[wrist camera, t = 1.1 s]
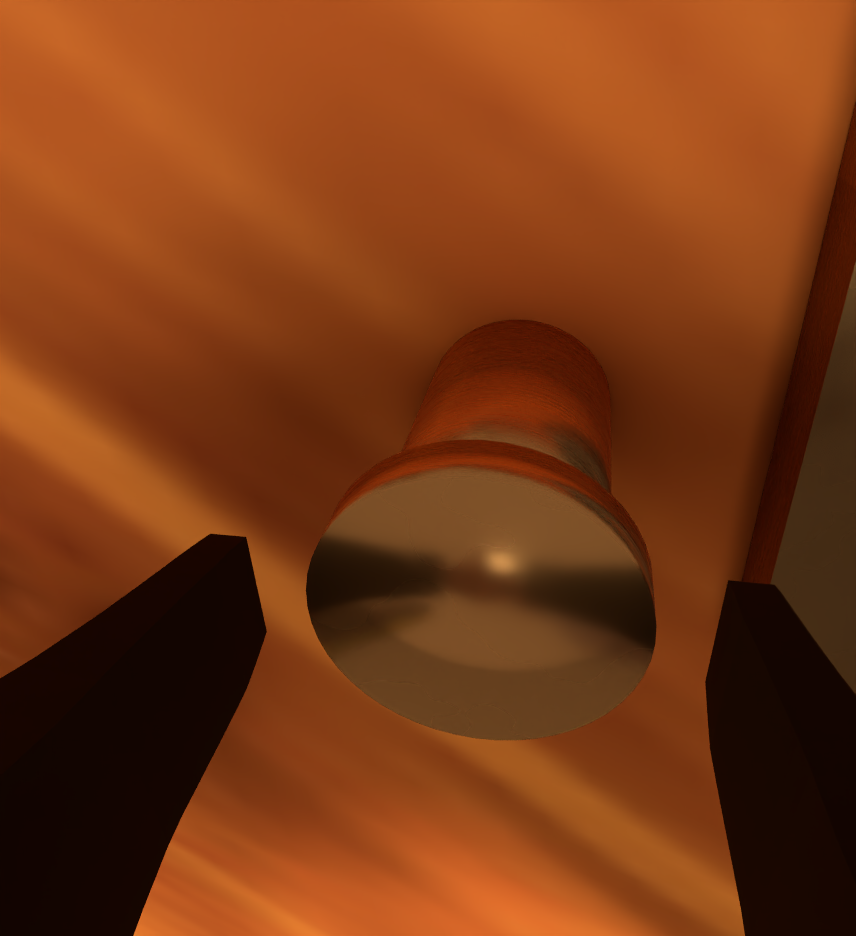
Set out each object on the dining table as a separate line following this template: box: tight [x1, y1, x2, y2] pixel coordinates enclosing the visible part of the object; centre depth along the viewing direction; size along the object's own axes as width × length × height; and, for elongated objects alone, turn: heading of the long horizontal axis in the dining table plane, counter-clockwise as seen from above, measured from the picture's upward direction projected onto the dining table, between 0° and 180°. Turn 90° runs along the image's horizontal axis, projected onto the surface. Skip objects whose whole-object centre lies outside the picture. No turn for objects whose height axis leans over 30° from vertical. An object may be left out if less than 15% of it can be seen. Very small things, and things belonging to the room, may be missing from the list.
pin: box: [306, 320, 656, 740], centre depth 14 cm, size 5×5×7 cm
